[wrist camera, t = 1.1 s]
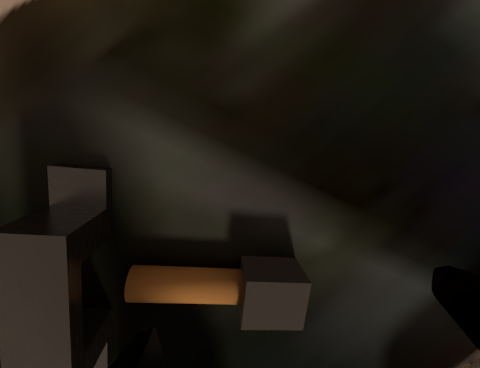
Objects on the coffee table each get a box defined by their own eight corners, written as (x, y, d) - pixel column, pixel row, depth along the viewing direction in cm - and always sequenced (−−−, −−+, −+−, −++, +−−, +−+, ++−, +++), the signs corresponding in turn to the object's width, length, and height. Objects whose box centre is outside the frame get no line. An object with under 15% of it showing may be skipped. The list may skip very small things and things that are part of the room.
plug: (295, 257, 22) (311, 283, 18) (288, 297, 23) (302, 330, 19) (136, 250, 20) (118, 277, 16) (136, 294, 21) (118, 329, 17)
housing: (112, 360, 22) (74, 441, 16) (65, 360, 22) (10, 444, 16) (111, 168, 19) (63, 184, 13) (56, 164, 18) (-21, 178, 12)
